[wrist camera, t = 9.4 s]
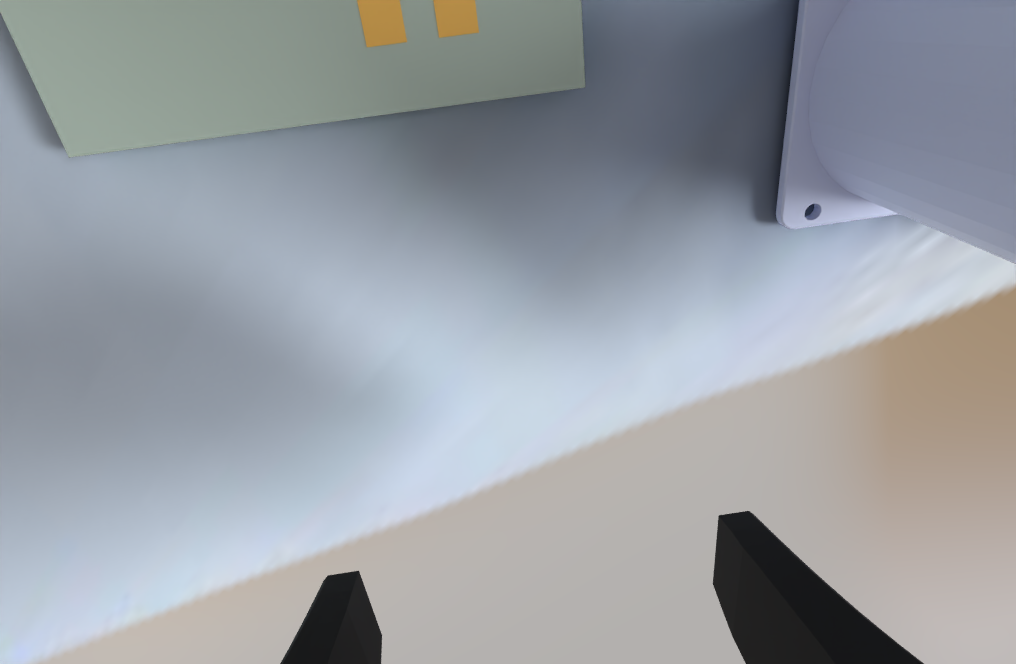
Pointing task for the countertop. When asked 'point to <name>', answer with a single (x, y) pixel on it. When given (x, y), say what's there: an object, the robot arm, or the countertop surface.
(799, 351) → the countertop surface
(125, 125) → the board
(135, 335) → the countertop surface
